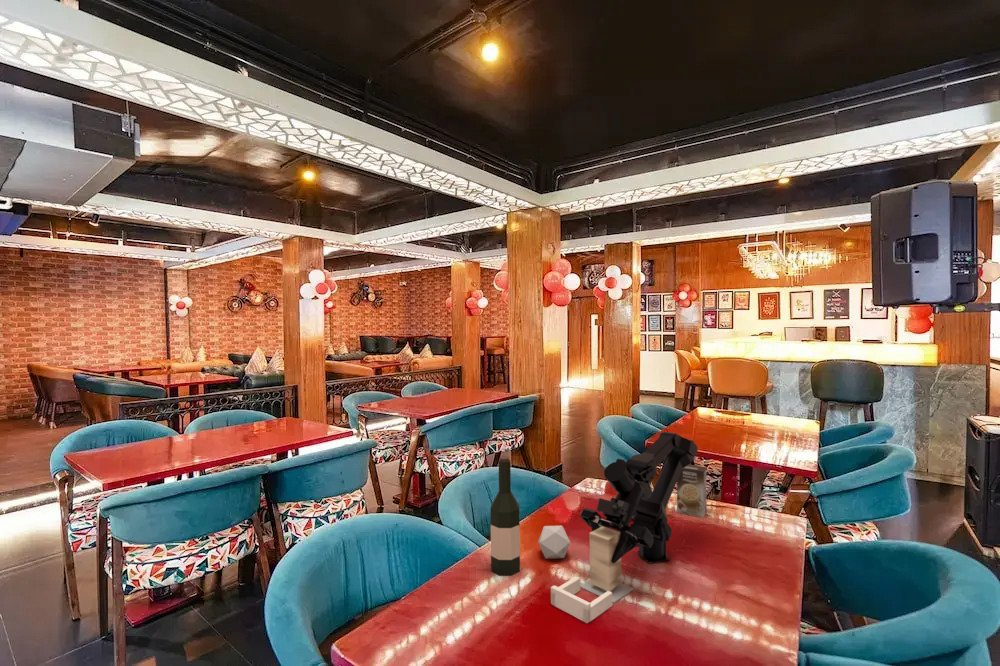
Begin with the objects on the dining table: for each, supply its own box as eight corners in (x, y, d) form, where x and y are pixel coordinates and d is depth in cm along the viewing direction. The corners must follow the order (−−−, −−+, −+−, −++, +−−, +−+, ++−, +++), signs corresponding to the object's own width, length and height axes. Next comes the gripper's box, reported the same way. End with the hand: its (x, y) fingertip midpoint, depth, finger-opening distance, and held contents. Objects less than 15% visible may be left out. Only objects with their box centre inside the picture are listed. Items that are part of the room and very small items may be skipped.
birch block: (602, 575, 121) (602, 526, 121) (621, 583, 117) (620, 532, 117) (590, 583, 118) (589, 532, 118) (609, 591, 114) (608, 539, 114)
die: (561, 569, 129) (578, 534, 132) (532, 550, 130) (550, 517, 133) (557, 566, 137) (573, 533, 140) (530, 548, 138) (547, 517, 141)
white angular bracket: (576, 588, 118) (576, 572, 118) (612, 605, 110) (612, 588, 110) (551, 604, 111) (550, 587, 111) (587, 623, 104) (587, 605, 104)
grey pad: (599, 574, 124) (599, 573, 124) (633, 589, 117) (633, 588, 117) (579, 587, 118) (579, 585, 118) (614, 603, 111) (614, 602, 111)
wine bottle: (525, 564, 130) (524, 455, 130) (513, 578, 123) (512, 463, 123) (498, 558, 134) (497, 452, 134) (485, 572, 126) (483, 459, 126)
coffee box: (676, 513, 166) (675, 467, 166) (679, 507, 171) (679, 462, 171) (704, 518, 161) (703, 471, 161) (707, 512, 166) (706, 466, 166)
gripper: (583, 477, 127) (557, 531, 119) (647, 494, 113) (622, 555, 106) (600, 499, 132) (577, 551, 125) (663, 517, 119) (641, 577, 111)
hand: (602, 558), depth 117 cm, fingers closed on birch block, 5 cm apart
